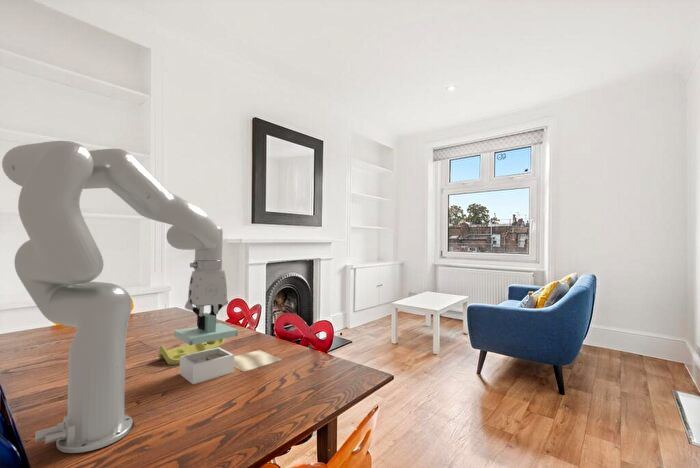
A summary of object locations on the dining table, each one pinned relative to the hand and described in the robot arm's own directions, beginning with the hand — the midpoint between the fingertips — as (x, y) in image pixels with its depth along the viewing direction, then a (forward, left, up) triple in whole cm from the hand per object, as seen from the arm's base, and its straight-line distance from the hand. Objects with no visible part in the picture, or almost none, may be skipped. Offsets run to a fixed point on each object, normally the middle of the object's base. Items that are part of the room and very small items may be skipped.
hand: (206, 327), depth 101 cm
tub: (0, 0, -14) cm, 14 cm away
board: (+15, 0, -14) cm, 21 cm away
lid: (0, 0, -3) cm, 3 cm away
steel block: (-2, 0, -14) cm, 14 cm away
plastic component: (+4, +19, -15) cm, 25 cm away
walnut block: (+3, 0, -14) cm, 14 cm away
